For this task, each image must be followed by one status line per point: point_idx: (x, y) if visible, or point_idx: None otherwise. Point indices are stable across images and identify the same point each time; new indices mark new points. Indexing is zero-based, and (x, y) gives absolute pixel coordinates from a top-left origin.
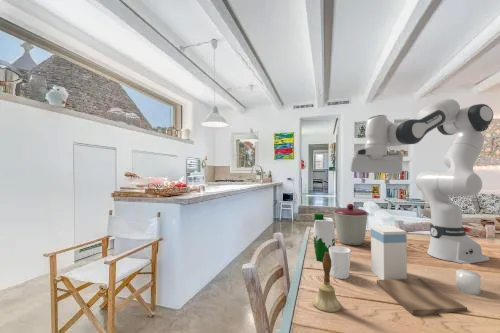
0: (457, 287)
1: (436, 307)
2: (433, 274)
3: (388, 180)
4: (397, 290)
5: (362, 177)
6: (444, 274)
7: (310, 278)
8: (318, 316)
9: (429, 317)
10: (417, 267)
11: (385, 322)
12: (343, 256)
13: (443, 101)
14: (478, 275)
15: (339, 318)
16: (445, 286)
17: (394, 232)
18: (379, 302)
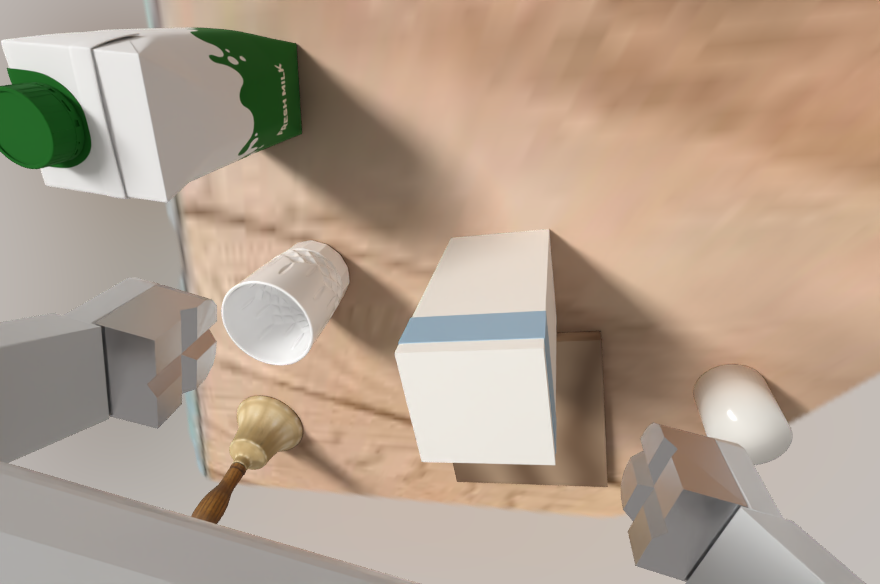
0: (697, 391)
1: (523, 480)
2: (721, 265)
3: (694, 570)
4: None
5: (65, 435)
6: (778, 264)
7: (218, 296)
8: None
9: None
10: (707, 188)
11: (386, 483)
12: (287, 355)
13: None
14: (775, 453)
15: (295, 466)
16: (676, 358)
17: (484, 460)
18: (401, 424)
